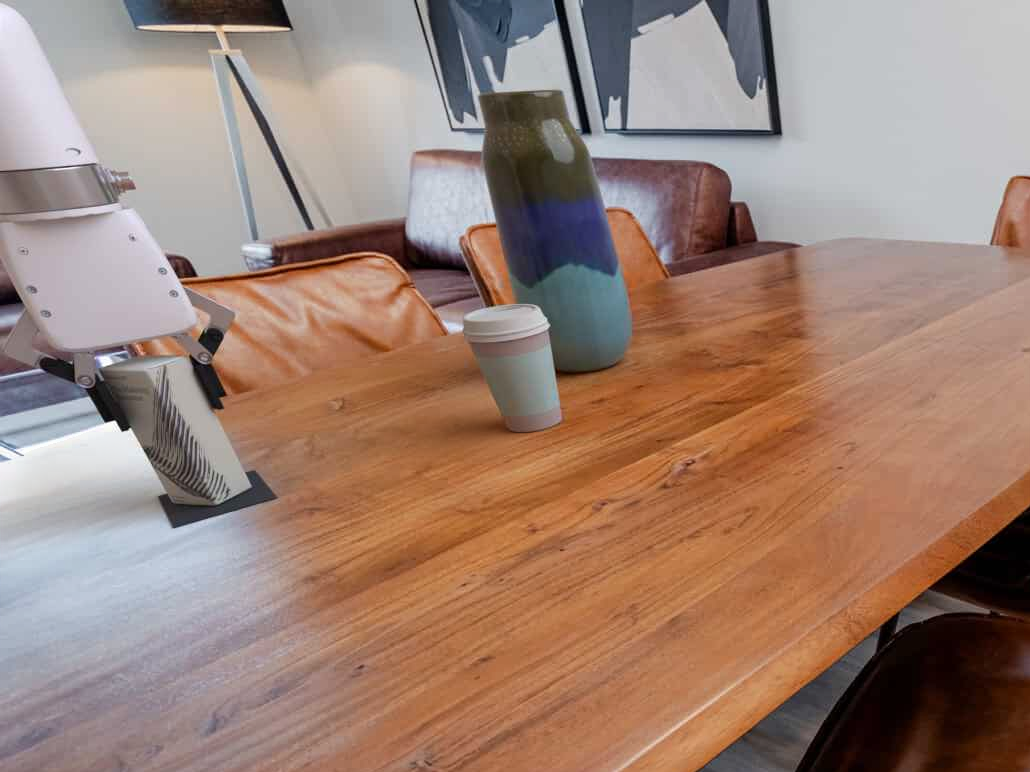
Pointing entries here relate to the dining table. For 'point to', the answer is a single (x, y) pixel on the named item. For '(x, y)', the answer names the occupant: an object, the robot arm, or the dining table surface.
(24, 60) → the robot arm
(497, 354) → the coffee cup
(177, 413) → the box
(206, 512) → the edge mat
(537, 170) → the vase
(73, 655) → the dining table surface
